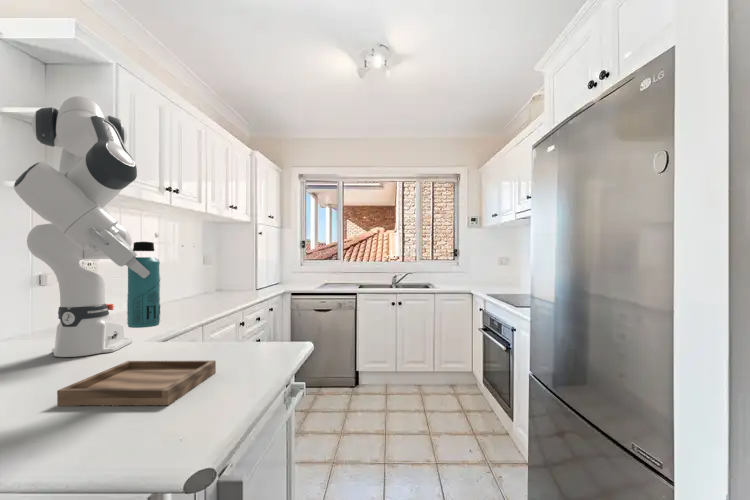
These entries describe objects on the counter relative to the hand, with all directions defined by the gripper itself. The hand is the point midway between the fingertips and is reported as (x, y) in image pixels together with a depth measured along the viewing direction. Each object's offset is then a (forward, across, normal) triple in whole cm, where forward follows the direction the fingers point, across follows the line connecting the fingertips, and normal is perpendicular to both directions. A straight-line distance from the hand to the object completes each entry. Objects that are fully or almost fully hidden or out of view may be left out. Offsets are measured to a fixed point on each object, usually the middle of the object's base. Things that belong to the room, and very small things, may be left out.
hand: (147, 275), depth 92 cm
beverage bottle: (+8, 0, +10) cm, 13 cm away
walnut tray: (+17, 0, +18) cm, 25 cm away
